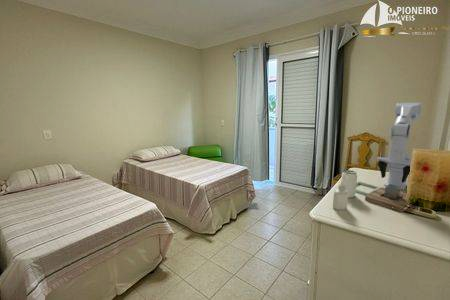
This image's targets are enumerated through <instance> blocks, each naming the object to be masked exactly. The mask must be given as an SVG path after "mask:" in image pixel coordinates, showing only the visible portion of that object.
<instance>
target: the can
mask: <svg viewBox="0 0 450 300" xmlns="http://www.w3.org/2000/svg"><path fill="white" fill-rule="evenodd" d="M341 182H343V184H344V185H345V190H346V191H348V199H349V198H355V196H356V193H357V192H356V189H357V185H356V183H357V182H358V175H357V171H354V170H352V169H351V170H350V169H344V170H343V171H342V173H341V179H340V183H341Z"/></svg>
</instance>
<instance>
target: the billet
mask: <svg viewBox="0 0 450 300" xmlns="http://www.w3.org/2000/svg"><path fill="white" fill-rule="evenodd" d="M384 188H385V194H384V197H385V198H388V199H392V200H395V201H399V195H400V192H401V189H400V188H401V186H397V185H393V184H389V185H387V186H384Z"/></svg>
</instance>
